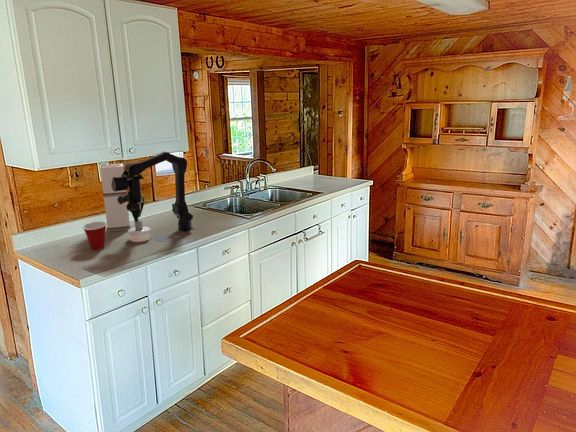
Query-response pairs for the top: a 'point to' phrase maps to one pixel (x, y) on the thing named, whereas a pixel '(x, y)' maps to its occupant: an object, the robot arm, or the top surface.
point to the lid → (139, 228)
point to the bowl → (139, 237)
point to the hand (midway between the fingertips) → (137, 219)
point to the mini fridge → (114, 199)
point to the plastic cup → (95, 234)
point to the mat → (165, 237)
